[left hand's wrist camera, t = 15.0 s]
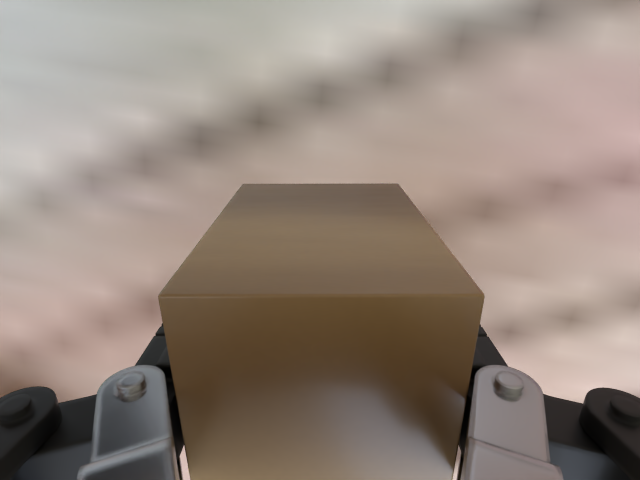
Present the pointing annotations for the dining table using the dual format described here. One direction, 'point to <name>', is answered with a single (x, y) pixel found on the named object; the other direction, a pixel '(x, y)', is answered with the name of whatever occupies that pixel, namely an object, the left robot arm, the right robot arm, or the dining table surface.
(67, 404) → the left robot arm
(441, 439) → the bar
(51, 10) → the dining table surface
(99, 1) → the dining table surface
